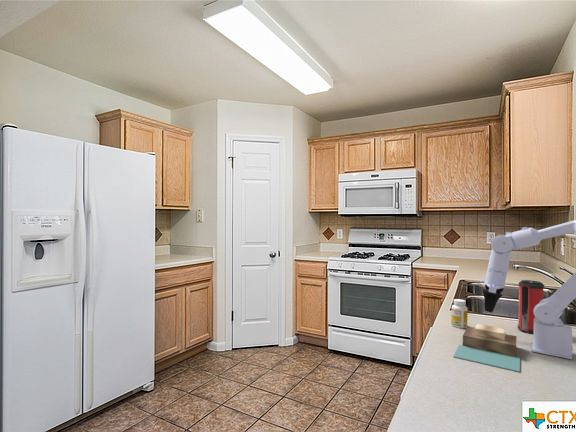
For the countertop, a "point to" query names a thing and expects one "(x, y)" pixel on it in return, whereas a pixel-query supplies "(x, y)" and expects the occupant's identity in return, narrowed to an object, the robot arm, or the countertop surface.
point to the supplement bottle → (459, 314)
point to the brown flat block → (490, 343)
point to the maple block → (490, 331)
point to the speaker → (528, 303)
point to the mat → (488, 358)
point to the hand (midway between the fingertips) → (489, 308)
